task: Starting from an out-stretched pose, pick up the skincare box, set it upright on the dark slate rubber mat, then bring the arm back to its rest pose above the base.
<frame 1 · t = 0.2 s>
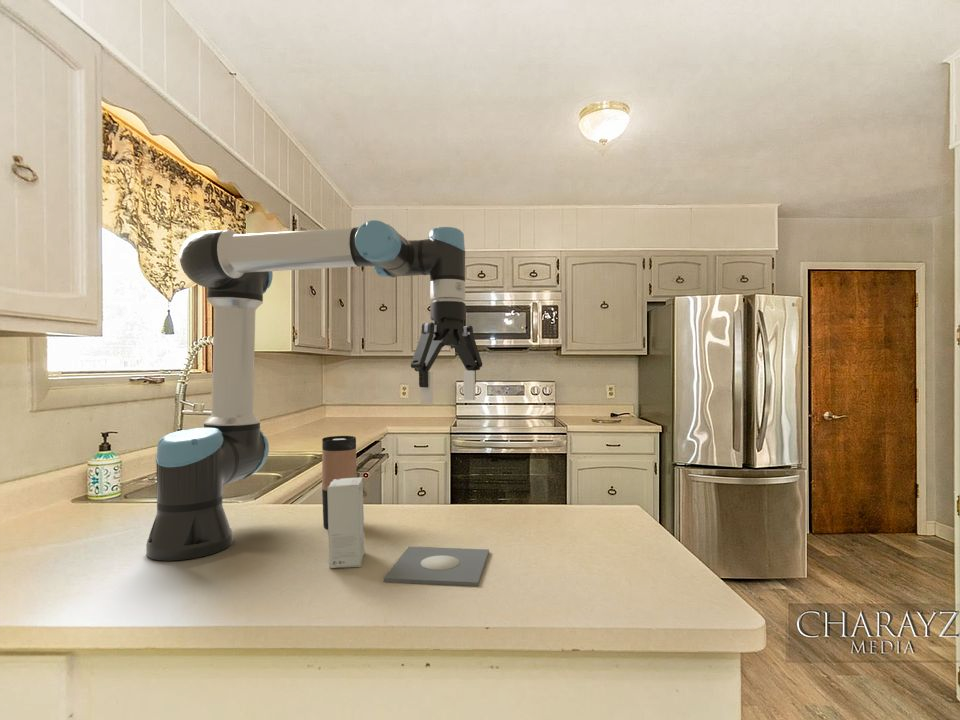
hand: (449, 401, 114), 29 cm above the counter, fingers open, 13 cm apart
mat: (440, 566, 97), on the counter
skincare box: (346, 561, 101), on the counter
travel mug: (339, 526, 123), on the counter
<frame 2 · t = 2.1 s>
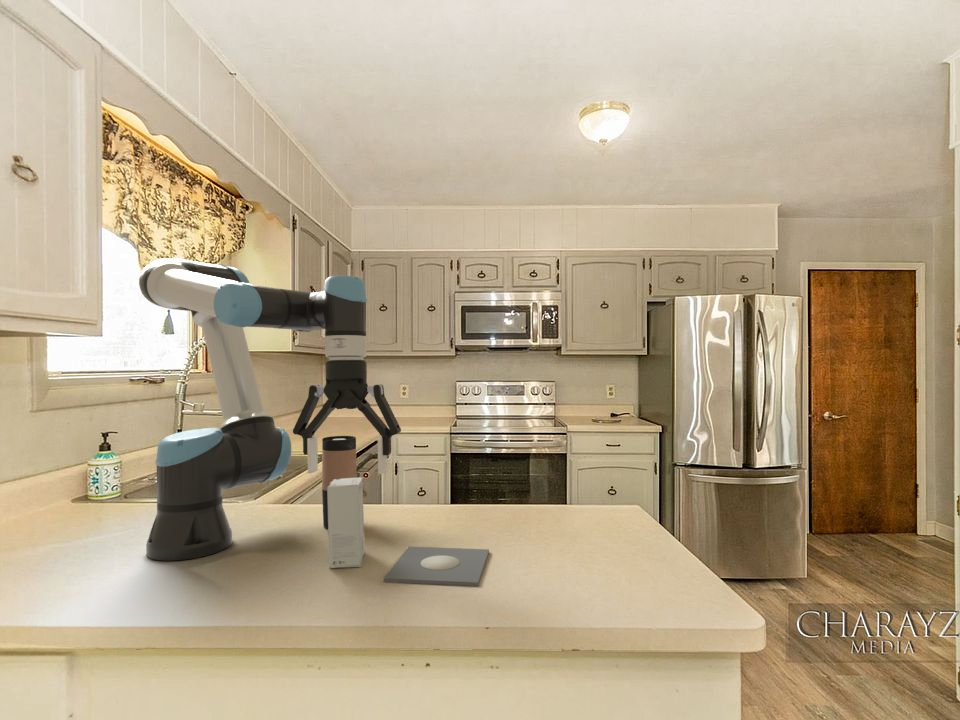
hand: (347, 472, 101), 16 cm above the counter, fingers open, 13 cm apart
nothing on the counter moved.
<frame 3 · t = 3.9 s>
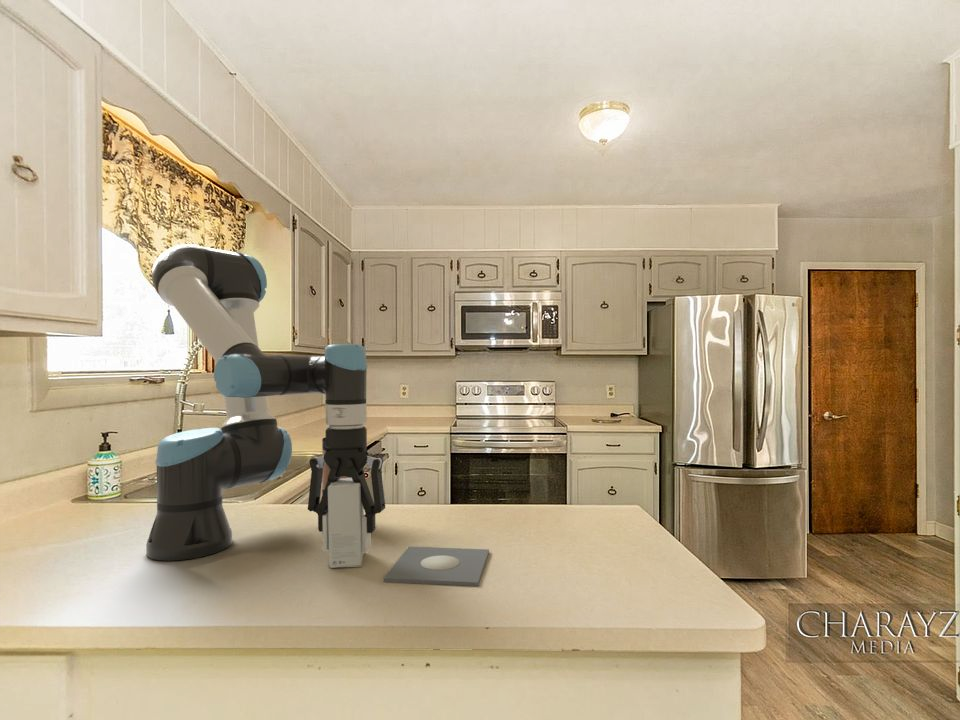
hand: (346, 549, 101), 2 cm above the counter, fingers closed on skincare box, 7 cm apart
skincare box: (346, 561, 101), on the counter, touching gripper
everything else where it was.
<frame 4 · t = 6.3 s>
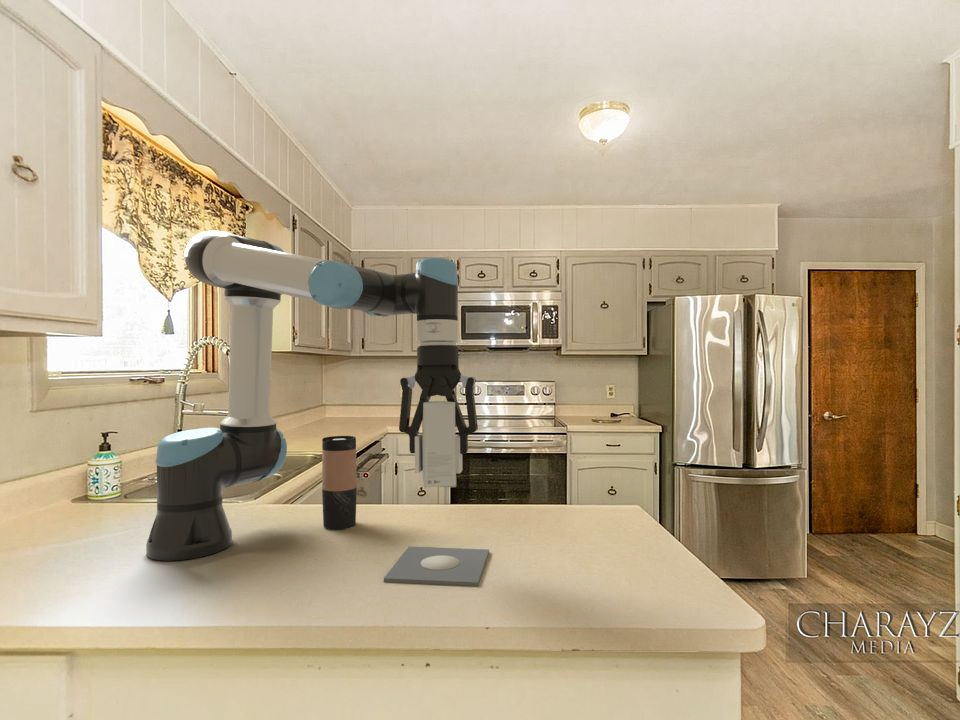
hand: (438, 471, 97), 17 cm above the counter, fingers closed on skincare box, 7 cm apart
skincare box: (438, 484, 97), point 15 cm above the counter, touching gripper
everything else where it was.
when the fingers open (3 cm above the counter, at t = 9.1 s): skincare box stays where it is, resting on mat.
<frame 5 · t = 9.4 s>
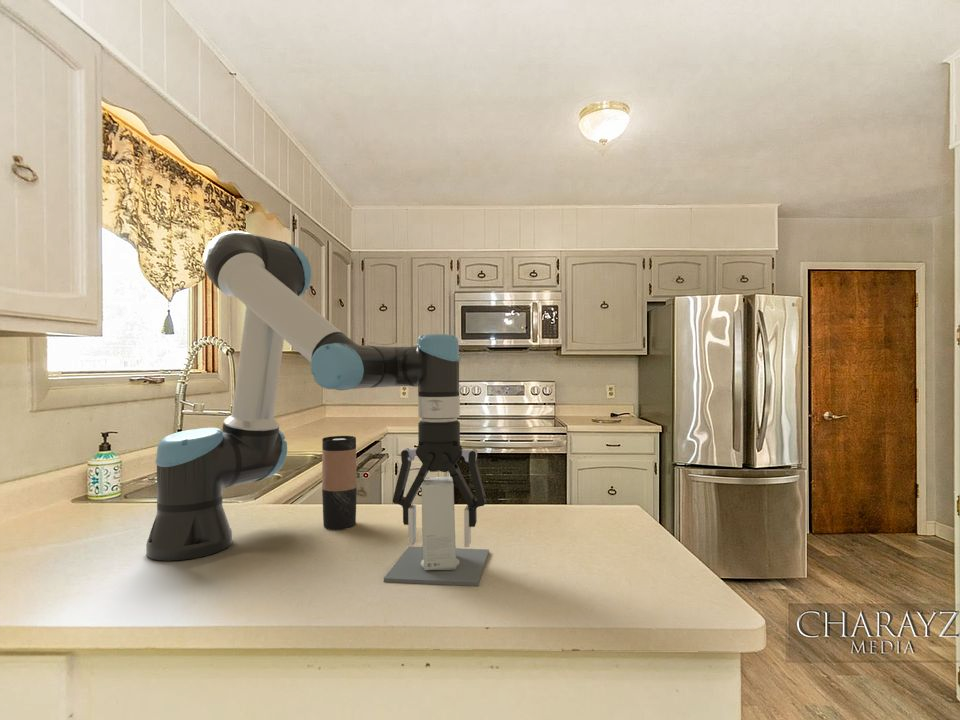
hand: (439, 543, 97), 4 cm above the counter, fingers open, 9 cm apart
skincare box: (439, 563, 97), point 1 cm above the counter, touching mat
everything else where it was.
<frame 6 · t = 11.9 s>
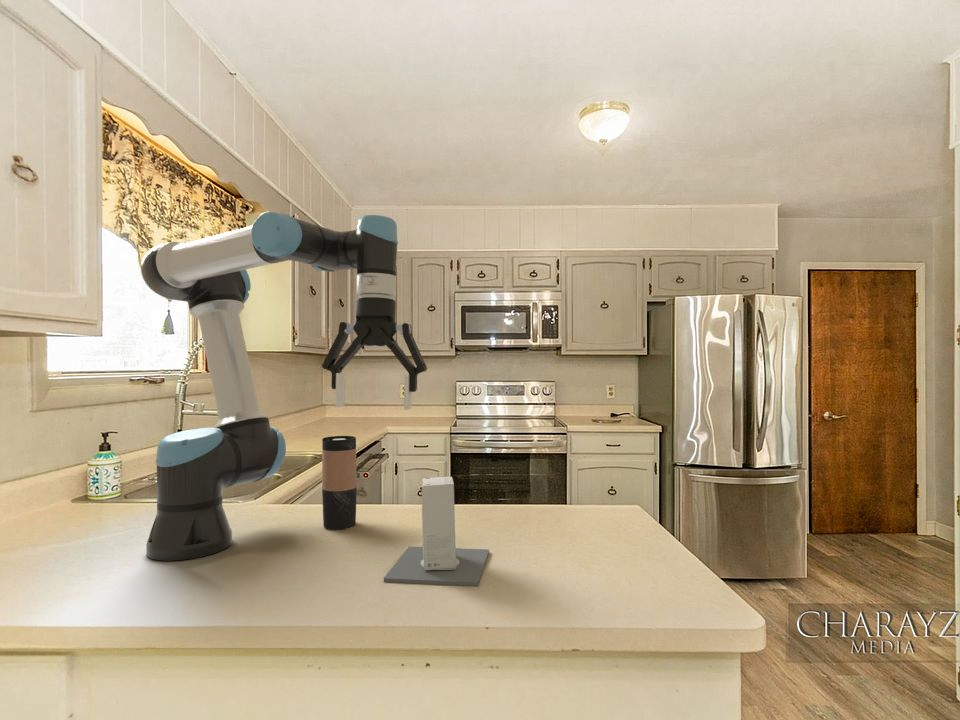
hand: (373, 407, 104), 28 cm above the counter, fingers open, 13 cm apart
nothing on the counter moved.
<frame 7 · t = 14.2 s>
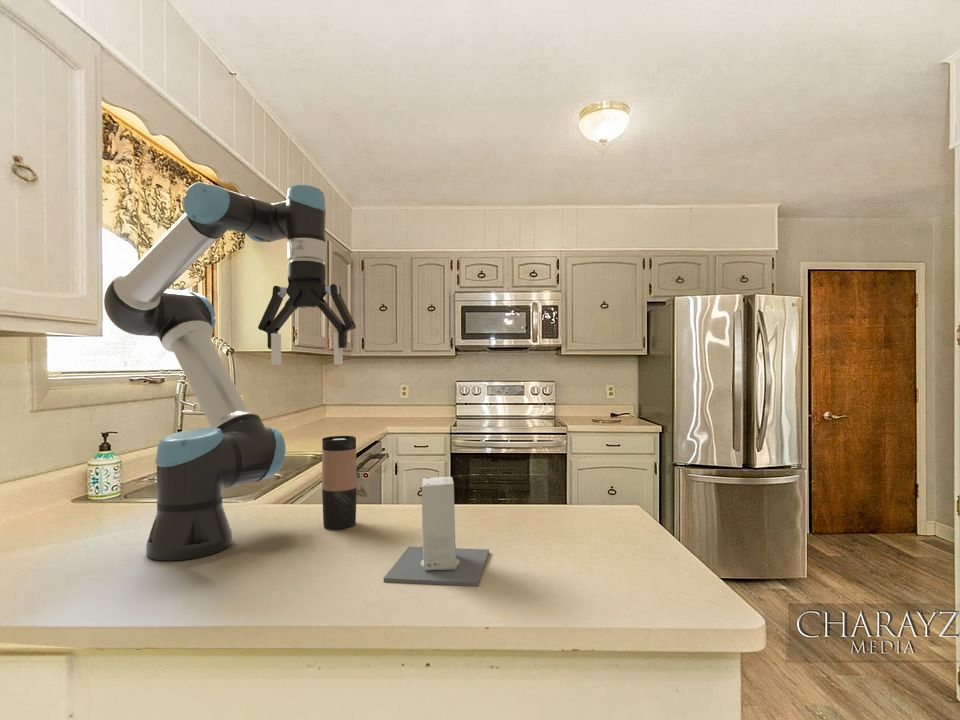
hand: (307, 364, 111), 37 cm above the counter, fingers open, 13 cm apart
nothing on the counter moved.
at the end: skincare box inside the target area on the mat (0.2 cm from its centre), point 0.5 cm above the mat's base; skincare box tilted 0°; the gripper is holding nothing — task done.
